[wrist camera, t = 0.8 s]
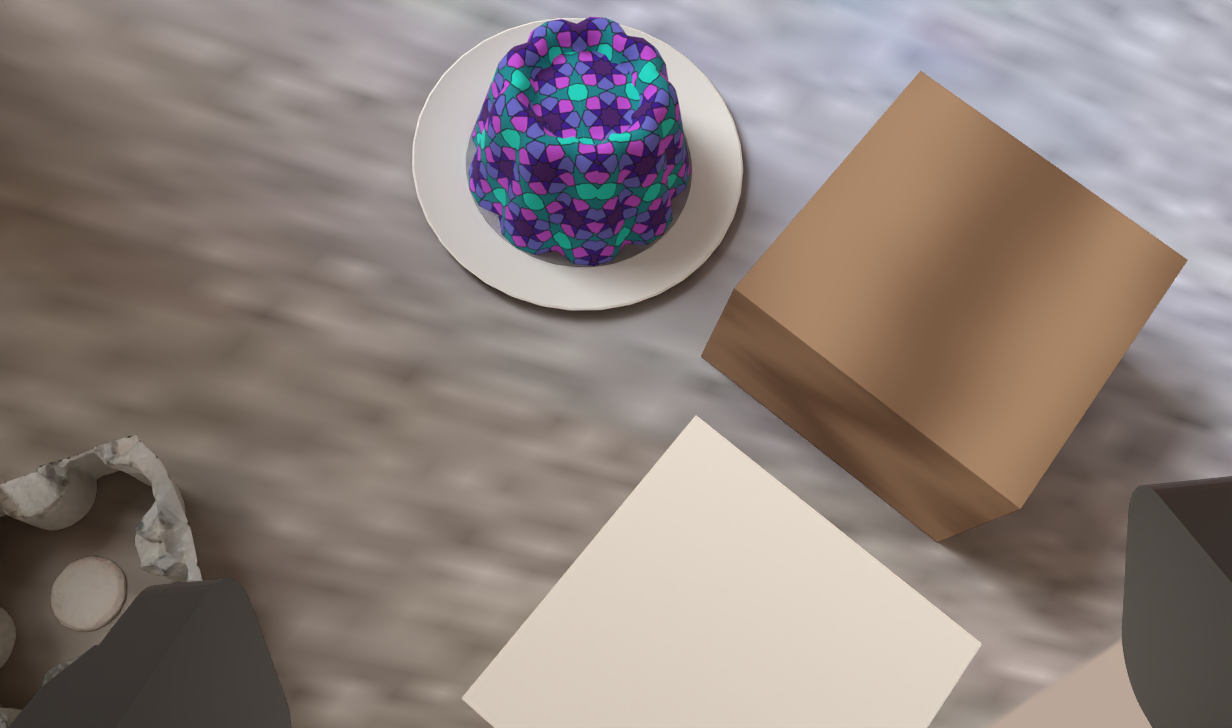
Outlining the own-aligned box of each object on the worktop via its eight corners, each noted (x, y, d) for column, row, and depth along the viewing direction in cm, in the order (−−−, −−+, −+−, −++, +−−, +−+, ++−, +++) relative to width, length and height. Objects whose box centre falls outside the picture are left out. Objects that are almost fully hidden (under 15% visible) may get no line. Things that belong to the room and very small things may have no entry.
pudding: (427, 334, 35) (411, 273, 30) (402, 40, 38) (384, -59, 33) (765, 301, 36) (803, 237, 31) (710, 21, 40) (736, -76, 35)
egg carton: (-51, 525, 31) (-133, 499, 28) (192, 444, 33) (146, 408, 29) (18, 877, 28) (-63, 903, 25) (282, 771, 30) (244, 779, 26)
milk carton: (493, 701, 31) (459, 698, 16) (618, 548, 33) (695, 413, 17) (647, 836, 30) (768, 973, 15) (766, 672, 32) (983, 643, 17)
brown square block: (700, 355, 35) (734, 288, 29) (861, 165, 38) (920, 70, 32) (937, 542, 33) (1020, 509, 28) (1085, 329, 36) (1187, 259, 31)
